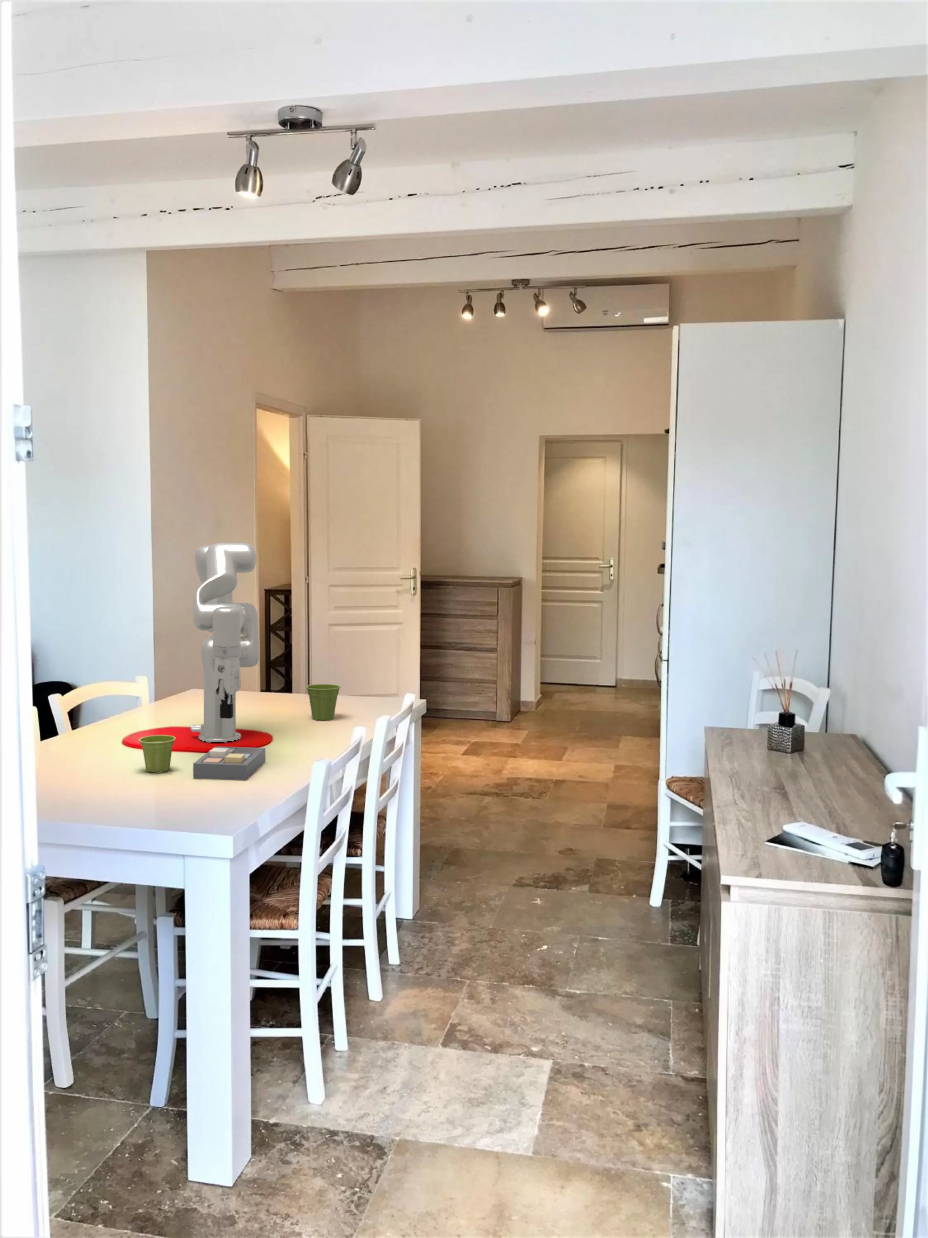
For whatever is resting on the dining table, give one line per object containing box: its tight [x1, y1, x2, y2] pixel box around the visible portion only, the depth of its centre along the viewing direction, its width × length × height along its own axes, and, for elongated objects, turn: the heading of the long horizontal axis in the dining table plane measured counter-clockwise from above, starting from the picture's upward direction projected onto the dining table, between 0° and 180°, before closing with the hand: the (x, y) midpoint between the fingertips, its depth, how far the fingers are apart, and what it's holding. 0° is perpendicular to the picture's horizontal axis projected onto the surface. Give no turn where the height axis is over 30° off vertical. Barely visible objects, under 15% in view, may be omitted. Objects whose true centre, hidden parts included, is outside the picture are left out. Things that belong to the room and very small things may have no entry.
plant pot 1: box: [138, 734, 176, 774], centre depth 273 cm, size 9×9×9 cm
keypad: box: [192, 745, 266, 781], centre depth 275 cm, size 14×20×4 cm
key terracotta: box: [203, 758, 223, 763], centre depth 269 cm, size 4×4×3 cm
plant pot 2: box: [305, 683, 342, 722], centre depth 347 cm, size 12×12×11 cm
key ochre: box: [225, 753, 245, 764], centre depth 269 cm, size 4×4×3 cm
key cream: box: [209, 747, 229, 758], centre depth 275 cm, size 4×4×3 cm
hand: (226, 717), depth 280 cm, fingers closed
